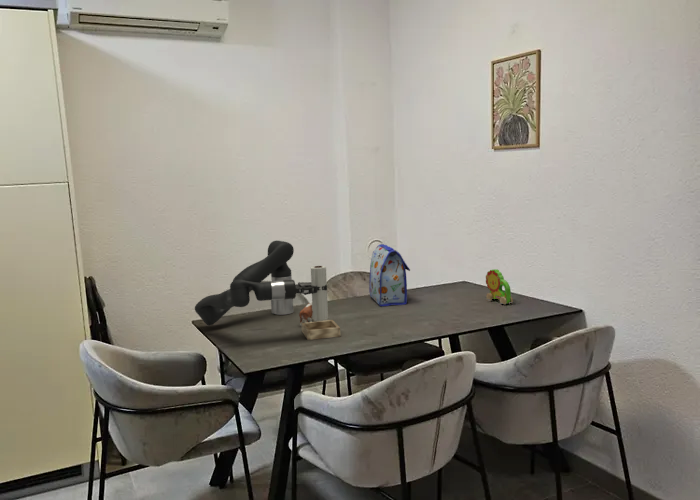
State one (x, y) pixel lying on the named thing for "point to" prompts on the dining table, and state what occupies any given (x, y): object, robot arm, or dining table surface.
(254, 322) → the dining table surface
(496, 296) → the toy lion
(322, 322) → the wooden tray
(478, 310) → the dining table surface
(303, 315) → the bull figurine
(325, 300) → the paper towel roll
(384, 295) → the lunch bag
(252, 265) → the robot arm
